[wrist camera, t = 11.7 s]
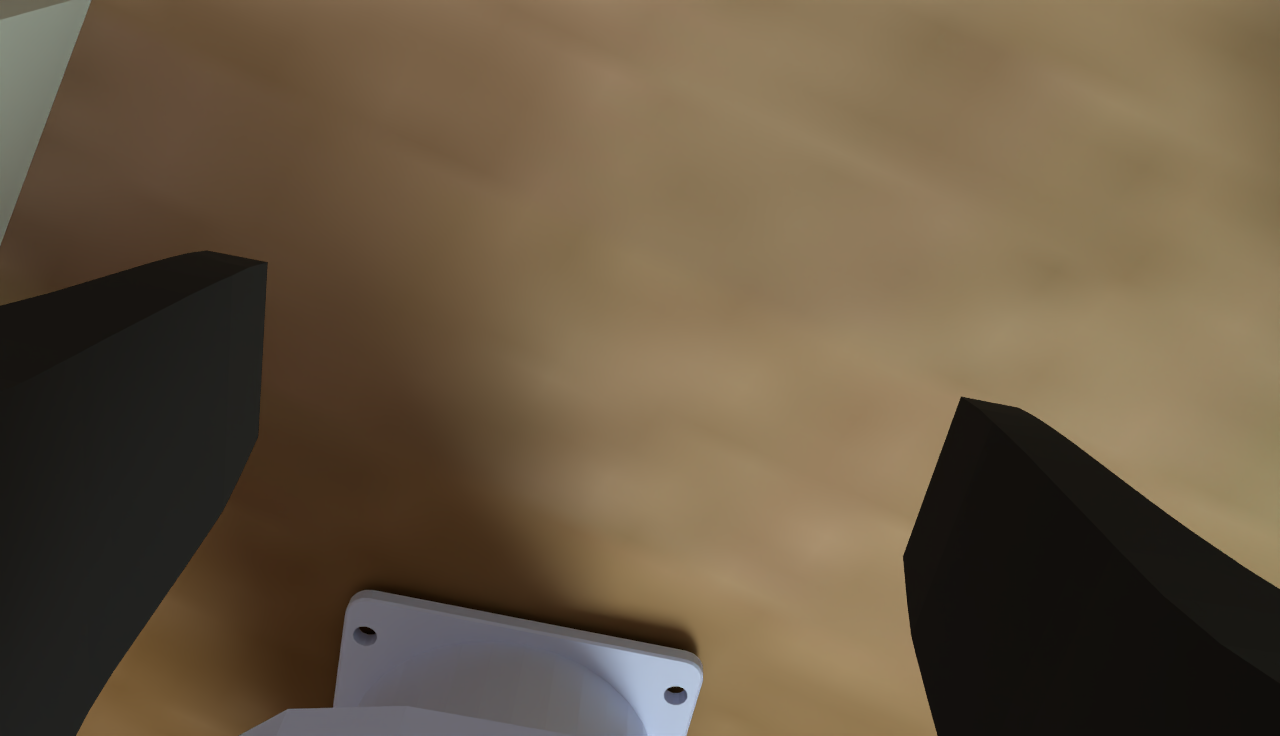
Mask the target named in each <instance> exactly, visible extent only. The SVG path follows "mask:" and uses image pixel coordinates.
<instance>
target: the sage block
mask: <svg viewBox="0 0 1280 736" xmlns="http://www.w3.org/2000/svg"><path fill="white" fill-rule="evenodd" d="M90 3H91V0H0V245H1V242H2V240H3V237H4V234H5V231H6V229H7V226H8V223H9V221H10V218H11V215H12V213H13V210H14V207H15V205H16V202H17V199H18V196H19V194H20V191H21V188H22V186H23V183H24V180H25V178H26V175H27V172H28V170H29V167H30V164H31V161H32V159H33V156H34V153H35V151H36V148H37V145H38V143H39V140H40V137H41V135H42V132H43V129H44V126H45V124H46V121H47V118H48V116H49V113H50V110H51V108H52V105H53V102H54V99H55V97H56V94H57V91H58V89H59V86H60V83H61V81H62V78H63V75H64V73H65V70H66V67H67V64H68V62H69V59H70V56H71V54H72V51H73V48H74V46H75V43H76V40H77V38H78V35H79V32H80V29H81V27H82V24H83V21H84V19H85V16H86V13H87V11H88V8H89V5H90Z"/></svg>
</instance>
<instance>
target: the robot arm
mask: <svg viewBox="0 0 1280 736" xmlns="http://www.w3.org/2000/svg"><path fill="white" fill-rule="evenodd" d="M267 263H268V262H263V261H258V260H253V259H248V258H242V257H237V256H232V255H227V254H222V253H217V252H211V251H201V252H193V253H187V254H183V255H179V256H174V257H170V258H167V259H163V260H159V261H156V262H152V263H149V264H145V265H142V266H138V267H135V268H132V269H129V270H125V271H122V272H119V273H115V274H112V275H109V276H105V277H102V278H99V279H95V280H92V281H89V282H85V283H82V284H79V285H75V286H72V287H68V288H65V289H62V290H58V291H55V292H52V293H48V294H44V295H40V296H36V297H33V298H29V299H25V300H21V301H17V302H13V303H9V304H6V305H2V306H0V736H76V734H77V732H78V731H79V729H80V727H81V725H82V723H83V721H84V719H85V717H86V715H87V714H88V712H89V710H90V708H91V707H92V705H93V703H94V702H95V700H96V699H97V697H98V695H99V694H100V692H101V691H102V689H103V687H104V686H105V684H106V682H107V681H108V679H109V678H110V676H111V674H112V673H113V671H114V670H115V668H116V667H117V665H118V664H119V662H120V661H121V660H122V658H123V657H124V655H125V654H126V652H127V651H128V649H129V648H130V646H131V645H132V644H133V642H134V641H135V639H136V638H137V636H138V635H139V633H140V632H141V631H142V629H143V628H144V626H145V625H146V623H147V622H148V620H149V619H150V617H151V616H152V615H153V613H154V612H155V610H156V609H157V607H158V606H159V604H160V603H161V602H162V600H163V599H164V597H165V596H166V594H167V593H168V591H169V590H170V588H171V587H172V586H173V584H174V583H175V581H176V580H177V578H178V577H179V575H180V574H181V573H182V571H183V570H184V568H185V567H186V565H187V564H188V562H189V561H190V559H191V558H192V556H193V555H194V553H195V552H196V550H197V549H198V547H199V546H200V545H201V543H202V542H203V540H204V539H205V537H206V536H207V534H208V533H209V531H210V530H211V528H212V527H213V525H214V524H215V522H216V521H217V519H218V518H219V516H220V514H221V513H222V511H223V510H224V508H225V506H226V504H227V502H228V500H229V498H230V496H231V494H232V492H233V490H234V487H235V485H236V483H237V481H238V479H239V477H240V475H241V473H242V471H243V469H244V466H245V464H246V462H247V460H248V458H249V456H250V453H251V451H252V449H253V447H254V445H255V442H256V440H257V438H258V431H259V412H260V394H261V375H262V356H263V338H264V319H265V300H266V281H267ZM903 561H904V572H905V584H906V595H907V605H908V613H909V621H910V629H911V636H912V641H913V645H914V649H915V653H916V657H917V661H918V664H919V668H920V672H921V676H922V680H923V683H924V687H925V691H926V695H927V699H928V702H929V706H930V710H931V713H932V717H933V721H934V724H935V728H936V732H937V735H938V736H1280V589H1279V588H1277V587H1275V586H1274V585H1272V584H1271V583H1269V582H1267V581H1266V580H1264V579H1263V578H1261V577H1259V576H1258V575H1256V574H1255V573H1253V572H1251V571H1250V570H1248V569H1247V568H1245V567H1244V566H1242V565H1241V564H1239V563H1238V562H1236V561H1235V560H1233V559H1232V558H1230V557H1229V556H1227V555H1226V554H1224V553H1223V552H1222V551H1220V550H1219V549H1217V548H1216V547H1214V546H1213V545H1211V544H1210V543H1208V542H1207V541H1205V540H1204V539H1202V538H1201V537H1199V536H1198V535H1197V534H1195V533H1194V532H1192V531H1191V530H1189V529H1188V528H1187V527H1185V526H1184V525H1182V524H1181V523H1180V522H1178V521H1177V520H1175V519H1174V518H1173V517H1171V516H1170V515H1168V514H1167V513H1166V512H1164V511H1163V510H1162V509H1160V508H1159V507H1158V506H1156V505H1155V504H1153V503H1152V502H1151V501H1149V500H1148V499H1147V498H1145V497H1144V496H1143V495H1141V494H1140V493H1139V492H1137V491H1136V490H1135V489H1133V488H1132V487H1131V486H1129V485H1128V484H1127V483H1125V482H1124V481H1123V480H1122V479H1120V478H1119V477H1118V476H1116V475H1115V474H1114V473H1112V472H1111V471H1110V470H1108V469H1107V468H1106V467H1104V466H1103V465H1102V464H1100V463H1099V462H1098V461H1096V460H1095V459H1094V458H1093V457H1091V456H1090V455H1089V454H1087V453H1086V452H1085V451H1083V450H1082V449H1081V448H1079V447H1078V446H1077V445H1075V444H1074V443H1073V442H1071V441H1070V440H1068V439H1067V438H1066V437H1064V436H1063V435H1061V434H1060V433H1059V432H1057V431H1056V430H1054V429H1053V428H1052V427H1050V426H1049V425H1047V424H1046V423H1044V422H1043V421H1041V420H1040V419H1038V418H1036V417H1035V416H1033V415H1031V414H1029V413H1028V412H1026V411H1024V410H1022V409H1020V408H1017V407H1012V406H1007V405H1001V404H996V403H991V402H986V401H981V400H976V399H970V398H965V397H961V398H960V401H959V404H958V407H957V409H956V412H955V415H954V418H953V420H952V423H951V426H950V429H949V431H948V434H947V437H946V440H945V442H944V445H943V448H942V451H941V453H940V456H939V459H938V462H937V464H936V467H935V470H934V473H933V475H932V478H931V481H930V484H929V486H928V489H927V492H926V495H925V497H924V500H923V503H922V506H921V508H920V511H919V514H918V517H917V519H916V522H915V525H914V528H913V530H912V533H911V536H910V539H909V541H908V544H907V547H906V550H905V552H904V555H903ZM365 626H366V627H369V628H371V629H373V630H374V631H375V633H376V634H366V633H363V632H362V631H361V630H360V629H359V628H358V627H365ZM702 681H703V665H702V663H701V661H700V659H699V658H698V657H697V656H696V655H695V654H694V653H691V652H688V651H685V650H680V649H675V648H670V647H665V646H660V645H654V644H649V643H644V642H639V641H634V640H629V639H623V638H618V637H613V636H608V635H603V634H598V633H593V632H587V631H582V630H577V629H572V628H567V627H562V626H556V625H551V624H546V623H541V622H536V621H531V620H525V619H520V618H515V617H510V616H505V615H500V614H495V613H489V612H484V611H479V610H474V609H469V608H464V607H458V606H453V605H448V604H443V603H438V602H433V601H427V600H422V599H417V598H412V597H407V596H402V595H397V594H391V593H386V592H381V591H376V590H363V591H360V592H357V593H356V594H355V595H354V596H353V597H351V600H350V602H349V604H348V607H347V609H346V612H345V619H344V626H343V634H342V642H341V649H340V657H339V665H338V672H337V680H336V688H335V696H334V703H333V708H304V709H287V710H285V711H283V712H281V713H279V714H278V715H276V716H274V717H272V718H270V719H268V720H267V721H265V722H263V723H261V724H259V725H257V726H256V727H254V728H252V729H250V730H248V731H246V732H244V733H243V734H241V735H239V736H686V735H687V731H688V728H689V725H690V721H691V718H692V715H693V711H694V708H695V705H696V701H697V698H698V695H699V691H700V688H701V685H702ZM672 686H679V687H681V688H683V689H684V691H682V692H680V693H672V692H670V691H668V690H667V689H668V688H670V687H672Z"/></svg>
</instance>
